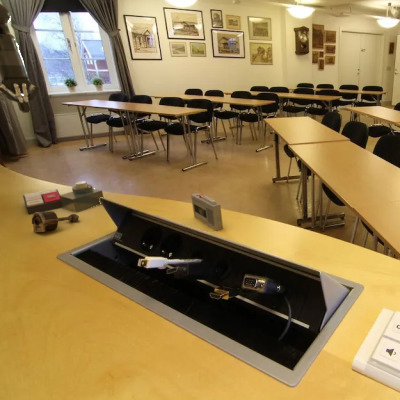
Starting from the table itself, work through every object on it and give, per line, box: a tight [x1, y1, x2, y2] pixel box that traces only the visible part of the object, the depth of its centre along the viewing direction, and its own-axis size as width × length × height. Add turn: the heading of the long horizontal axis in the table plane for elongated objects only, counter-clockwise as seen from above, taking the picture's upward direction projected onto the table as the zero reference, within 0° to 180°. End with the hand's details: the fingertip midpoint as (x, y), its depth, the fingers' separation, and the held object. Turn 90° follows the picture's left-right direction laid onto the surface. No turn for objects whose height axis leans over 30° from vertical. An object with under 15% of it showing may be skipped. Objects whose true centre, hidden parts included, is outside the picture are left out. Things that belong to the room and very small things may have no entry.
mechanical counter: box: [31, 210, 80, 233], centre depth 109 cm, size 7×13×10 cm
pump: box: [75, 180, 88, 188], centre depth 127 cm, size 4×4×2 cm
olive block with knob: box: [59, 183, 105, 214], centre depth 127 cm, size 11×9×8 cm
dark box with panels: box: [22, 188, 63, 215], centre depth 127 cm, size 11×4×15 cm
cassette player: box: [190, 192, 224, 232], centre depth 113 cm, size 16×3×10 cm, turn 47°
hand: (25, 112), depth 125 cm, fingers closed
